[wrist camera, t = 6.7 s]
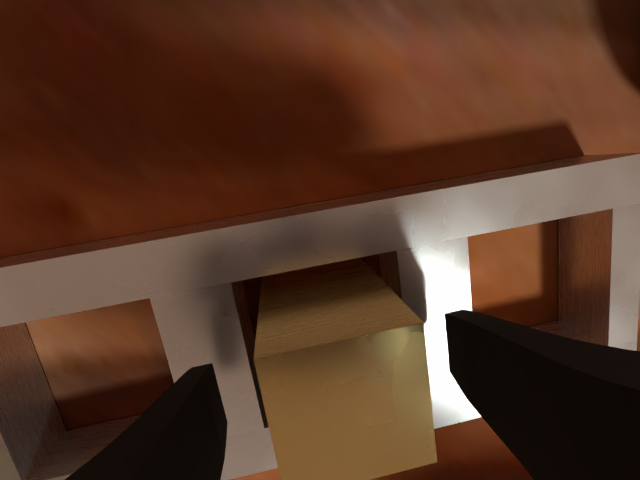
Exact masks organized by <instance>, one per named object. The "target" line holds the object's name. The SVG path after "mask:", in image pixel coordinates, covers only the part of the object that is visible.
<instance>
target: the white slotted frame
mask: <svg viewBox="0 0 640 480" xmlns="http://www.w3.org/2000/svg"><path fill="white" fill-rule="evenodd" d="M556 219H558V321H554V322H550V323H545V324H541V325H536V326H532V327H530V328H533V329H537V330H540V331H544V332H548V333H552V334H556V335H560V336H564V337H568V338H572V339H576V340H580V341H585V342H589V343H595V344H600V345H605V346H610V347H616V348H621V349H627V350H633V351H636V348H637V330H638V311H639V293H640V153H626V154H603V155H584V156H579V157H573V158H567V159H561V160H556V161H550V162H544V163H539V164H533V165H527V166H522V167H516V168H510V169H505V170H499V171H493V172H487V173H482V174H476V175H470V176H465V177H459V178H453V179H448V180H442V181H436V182H430V183H425V184H419V185H413V186H408V187H402V188H396V189H391V190H385V191H379V192H374V193H368V194H362V195H356V196H351V197H345V198H339V199H334V200H328V201H322V202H317V203H311V204H305V205H300V206H294V207H288V208H282V209H277V210H271V211H265V212H260V213H254V214H248V215H243V216H237V217H231V218H226V219H220V220H214V221H208V222H203V223H197V224H191V225H186V226H180V227H174V228H169V229H163V230H157V231H151V232H146V233H140V234H134V235H129V236H123V237H117V238H112V239H106V240H100V241H95V242H89V243H83V244H77V245H72V246H66V247H60V248H55V249H49V250H43V251H38V252H32V253H26V254H21V255H15V256H9V257H3V258H0V480H65V479H66V478H67V477H69V476H70V475H71V474H72V473H74V472H75V471H76V470H78V469H79V468H80V467H81V466H83V465H84V464H85V463H87V462H88V461H89V460H90V459H92V458H93V457H94V456H95V455H97V454H98V453H99V452H100V451H101V450H103V449H104V448H105V447H106V446H107V445H109V444H110V443H111V442H112V441H113V440H114V439H115V438H116V437H118V436H119V435H120V434H121V433H122V432H123V431H124V430H125V429H126V428H128V427H129V426H130V425H131V424H132V423H133V422H134V421H135V420H136V419H137V418H139V417H140V416H141V415H142V414H140V415H135V416H131V417H126V418H122V419H118V420H113V421H109V422H104V423H100V424H95V425H91V426H86V427H82V428H77V429H73V430H69V431H66V429H65V426H64V424H63V421H62V418H61V416H60V413H59V411H58V408H57V405H56V403H55V400H54V398H53V395H52V392H51V390H50V387H49V385H48V382H47V379H46V377H45V374H44V372H43V369H42V366H41V364H40V361H39V359H38V356H37V354H36V351H35V348H34V346H33V343H32V341H31V338H30V335H29V333H28V330H27V328H26V325H25V322H29V321H34V320H40V319H45V318H50V317H55V316H60V315H65V314H71V313H76V312H81V311H86V310H91V309H96V308H102V307H107V306H112V305H117V304H122V303H127V302H133V301H138V300H143V299H148V298H150V302H151V305H152V309H153V312H154V316H155V319H156V322H157V326H158V329H159V333H160V336H161V340H162V343H163V346H164V350H165V353H166V357H167V360H168V364H169V367H170V371H171V374H172V377H173V381H174V383H175V382H176V381H177V380H178V379H179V378H180V377H181V376H182V375H183V374H184V373H185V372H186V371H188V370H189V369H190V368H191V367H196V366H201V365H205V364H210V363H212V364H213V368H214V372H215V375H216V379H217V383H218V387H219V391H220V395H221V399H222V403H223V406H224V410H225V414H226V418H227V422H228V424H227V438H226V450H225V459H224V464H223V469H222V474H221V479H220V480H230V479H234V478H238V477H242V476H246V475H250V474H254V473H258V472H262V471H266V470H270V469H275V468H278V466H277V461H276V457H275V452H274V448H273V444H272V439H271V435H270V430H269V426H268V421H267V417H266V413H265V408H264V404H263V399H262V395H261V390H260V386H259V381H258V377H257V373H256V368H255V364H254V349H255V336H254V331H253V327H252V322H251V318H250V313H249V309H248V304H247V300H246V295H245V291H244V286H243V282H242V280H246V279H251V278H257V277H262V276H267V275H272V274H277V273H282V272H288V271H293V270H298V269H303V268H308V267H313V266H319V265H324V264H329V263H334V262H339V261H344V260H350V259H355V258H360V257H365V256H370V255H375V254H378V258H379V266H380V274H381V279H382V280H383V281H384V283H385V284H386V285H387V286H388V287H389V288H390V289H391V290H392V291H393V292H394V293H395V294H396V295H397V296H398V297H399V298H400V299H401V300H402V301H403V302H404V303H405V304H406V305H407V306H408V307H409V308H410V309H411V310H412V311H413V312H414V313H415V314H416V315H417V316H418V317H419V318H420V319H421V320H422V321H423V322H424V331H425V341H426V351H427V361H428V372H429V382H430V392H431V402H432V413H433V423H434V429H436V428H440V427H444V426H448V425H452V424H456V423H460V422H464V421H468V420H472V419H476V418H480V417H482V416H481V415H480V414H479V413H478V412H477V410H476V409H475V408H474V407H473V405H472V404H471V403H470V402H469V401H468V399H467V398H466V396H465V395H464V393H463V392H462V390H461V389H460V387H459V386H458V384H457V382H456V381H455V379H454V378H453V376H452V374H451V373H450V371H449V360H448V348H447V336H446V325H445V313H448V312H453V311H458V310H462V309H464V310H469V311H472V301H471V285H470V270H469V254H468V239H467V237H468V236H473V235H479V234H484V233H489V232H494V231H499V230H504V229H510V228H515V227H520V226H525V225H530V224H535V223H541V222H546V221H551V220H556Z"/></svg>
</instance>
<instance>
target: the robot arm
mask: <svg viewBox="0 0 640 480" xmlns="http://www.w3.org/2000/svg"><path fill="white" fill-rule="evenodd" d="M445 325H446V336H447V348H448V360H449V371H450V373H451V374H452V376H453V378H454V379H455V381H456V382H457V384H458V386H459V387H460V389H461V390H462V392H463V393H464V395H465V396H466V398H467V399H468V401H469V402H470V403H471V404H472V405H473V407H474V408H475V409H476V410H477V412H478V413H479V414H480V415H481V416H482V418H483V419H484V420H485V421H486V422H487V423H488V425H489V426H490V427H491V428H492V429H493V431H494V432H495V433H496V434H497V435H498V436H499V438H500V439H501V440H502V441H503V442H504V444H505V445H506V446H507V447H508V448H509V449H510V451H511V452H512V453H513V454H514V455H515V457H516V458H517V459H518V460H519V461H520V462H521V464H522V465H523V466H524V467H525V469H526V470H527V471H528V472H529V474H530V475H531V476H532V477H533V479H534V480H640V351H633V350H627V349H621V348H616V347H610V346H605V345H600V344H595V343H589V342H585V341H580V340H576V339H572V338H568V337H564V336H560V335H556V334H552V333H548V332H544V331H540V330H537V329H533V328H530V327H526V326H523V325H519V324H516V323H512V322H509V321H506V320H502V319H499V318H496V317H492V316H489V315H485V314H482V313H478V312H474V311H469V310H464V309H462V310H458V311H453V312H448V313H445ZM227 424H228V422H227V418H226V414H225V410H224V406H223V403H222V399H221V395H220V391H219V387H218V383H217V379H216V375H215V372H214V368H213V364H212V363H210V364H205V365H201V366H196V367H191V368H190V369H189V370H188V371H186V372H185V373H184V374H183V375H182V376H181V377H180V378H179V379H178V380H177V381H176V382H175V383H174V384H173V385H172V386H171V387H170V388H169V389H168V390H167V391H166V392H165V393H164V394H163V395H162V396H161V397H159V398H158V399H157V400H156V401H155V402H154V403H153V404H152V405H151V406H150V407H149V408H148V409H147V410H146V411H145V412H144V413H143V414H142V415H141V416H140V417H139V418H137V419H136V420H135V421H134V422H133V423H132V424H131V425H130V426H129V427H128V428H126V429H125V430H124V431H123V432H122V433H121V434H120V435H119V436H118V437H116V438H115V439H114V440H113V441H112V442H111V443H110V444H109V445H107V446H106V447H105V448H104V449H103V450H101V451H100V452H99V453H98V454H97V455H95V456H94V457H93V458H92V459H90V460H89V461H88V462H87V463H85V464H84V465H83V466H81V467H80V468H79V469H78V470H76V471H75V472H74V473H72V474H71V475H70V476H69V477H67V478H66V479H65V480H220V479H221V474H222V469H223V464H224V459H225V450H226V438H227Z"/></svg>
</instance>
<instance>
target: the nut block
mask: <svg viewBox="0 0 640 480" xmlns="http://www.w3.org/2000/svg"><path fill="white" fill-rule="evenodd" d="M254 364H255V368H256V373H257V377H258V381H259V386H260V390H261V395H262V399H263V404H264V408H265V413H266V417H267V421H268V426H269V430H270V435H271V439H272V444H273V448H274V452H275V457H276V461H277V466H278V470H279V475H280V479H281V480H370V479H374V478H378V477H382V476H386V475H390V474H394V473H397V472H401V471H405V470H409V469H413V468H417V467H421V466H425V465H429V464H432V463H436V462H437V453H436V443H435V433H434V423H433V413H432V402H431V392H430V382H429V372H428V361H427V351H426V341H425V331H424V322H423V321H422V320H421V319H420V318H419V317H418V316H417V315H416V314H415V313H414V312H413V311H412V310H411V309H410V308H409V307H408V306H407V305H406V304H405V303H404V302H403V301H402V300H401V299H400V298H399V297H398V296H397V295H396V294H395V293H394V292H393V291H392V290H391V289H390V288H389V287H388V286H387V285H386V284H385V283H384V281H383V280H382V279H381V278H380V277H379V276H378V275H377V274H376V273H375V272H374V271H373V270H372V269H371V268H370V267H369V266H368V265H367V264H366V263H365V262H364V261H363V260H362V259H361V258H358V259H353V260H348V261H342V262H337V263H332V264H327V265H322V266H316V267H311V268H306V269H301V270H296V271H290V272H285V273H280V274H275V275H270V276H264V277H262V284H261V293H260V303H259V312H258V321H257V331H256V340H255V349H254Z"/></svg>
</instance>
